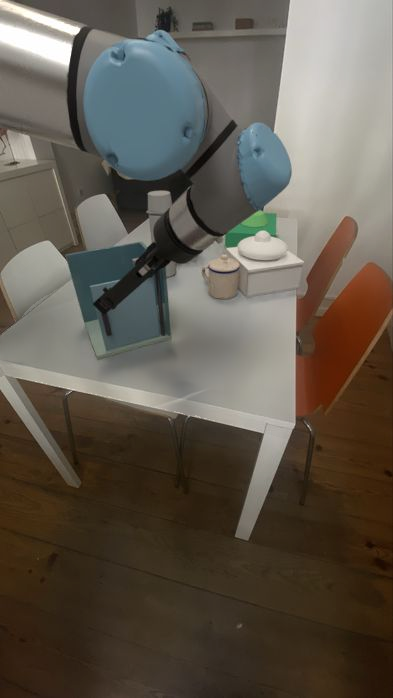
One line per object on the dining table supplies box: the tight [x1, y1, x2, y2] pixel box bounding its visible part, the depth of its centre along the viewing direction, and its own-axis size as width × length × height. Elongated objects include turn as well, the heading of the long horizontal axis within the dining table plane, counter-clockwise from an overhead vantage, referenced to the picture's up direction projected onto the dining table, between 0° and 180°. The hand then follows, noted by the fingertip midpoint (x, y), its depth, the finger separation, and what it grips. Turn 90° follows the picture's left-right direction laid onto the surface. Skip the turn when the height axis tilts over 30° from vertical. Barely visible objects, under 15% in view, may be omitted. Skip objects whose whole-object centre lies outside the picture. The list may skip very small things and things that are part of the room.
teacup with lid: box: [201, 253, 240, 300], centre depth 93 cm, size 12×9×12 cm
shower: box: [64, 241, 172, 360], centre depth 75 cm, size 18×16×19 cm
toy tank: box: [224, 210, 277, 249], centre depth 127 cm, size 18×12×35 cm
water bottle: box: [145, 190, 177, 279], centre depth 100 cm, size 9×8×25 cm
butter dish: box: [224, 231, 305, 298], centre depth 96 cm, size 18×18×16 cm
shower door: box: [90, 276, 160, 351], centre depth 69 cm, size 13×2×16 cm, turn 116°
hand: (120, 287), depth 61 cm, fingers open, 13 cm apart
